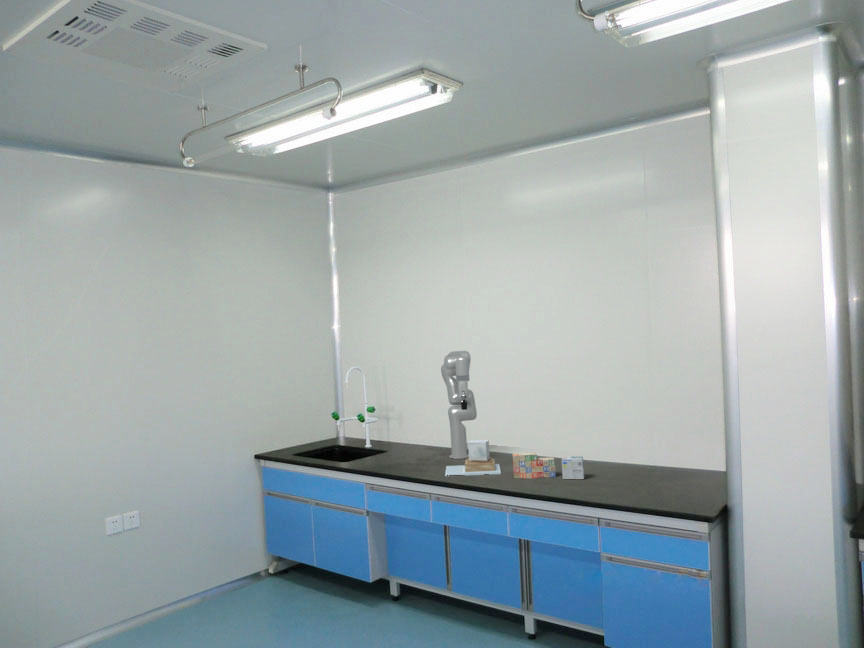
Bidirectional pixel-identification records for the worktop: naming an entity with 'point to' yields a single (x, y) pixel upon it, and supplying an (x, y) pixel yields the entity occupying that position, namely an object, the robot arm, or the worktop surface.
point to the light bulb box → (573, 467)
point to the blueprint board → (461, 471)
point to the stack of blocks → (532, 466)
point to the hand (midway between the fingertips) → (464, 408)
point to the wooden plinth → (479, 465)
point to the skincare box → (478, 450)
